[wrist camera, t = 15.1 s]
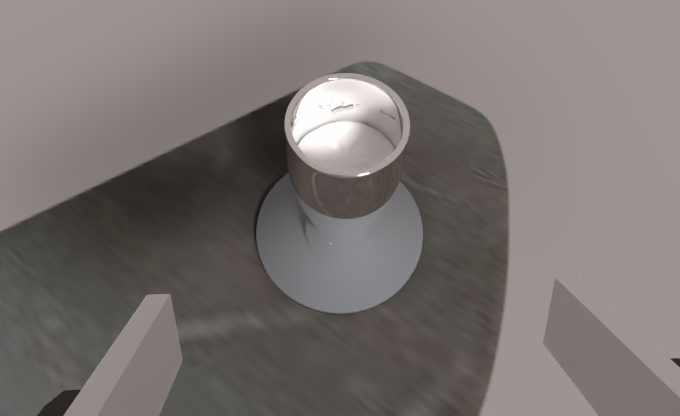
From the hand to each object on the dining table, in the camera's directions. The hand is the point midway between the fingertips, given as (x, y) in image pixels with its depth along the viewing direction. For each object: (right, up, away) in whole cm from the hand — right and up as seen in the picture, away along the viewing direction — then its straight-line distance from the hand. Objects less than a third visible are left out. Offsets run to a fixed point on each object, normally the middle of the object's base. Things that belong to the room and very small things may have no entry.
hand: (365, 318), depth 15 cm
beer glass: (-1, +2, +21) cm, 21 cm away
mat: (-1, +2, +22) cm, 22 cm away
